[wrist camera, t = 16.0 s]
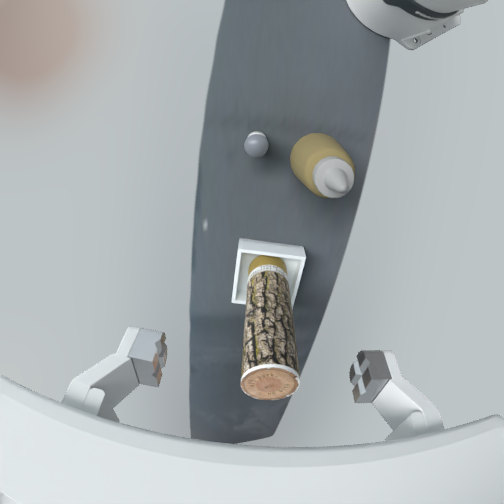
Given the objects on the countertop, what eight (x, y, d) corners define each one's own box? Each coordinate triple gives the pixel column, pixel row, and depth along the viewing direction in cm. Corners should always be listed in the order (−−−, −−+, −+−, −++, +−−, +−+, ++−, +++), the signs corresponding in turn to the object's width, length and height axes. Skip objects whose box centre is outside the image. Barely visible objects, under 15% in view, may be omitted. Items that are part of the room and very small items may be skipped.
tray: (239, 237, 51) (238, 248, 48) (303, 246, 52) (306, 257, 48) (233, 290, 57) (231, 302, 53) (290, 296, 57) (292, 309, 54)
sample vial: (261, 126, 42) (261, 130, 37) (271, 144, 43) (272, 150, 38) (242, 136, 43) (240, 141, 37) (252, 153, 44) (251, 161, 39)
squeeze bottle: (342, 173, 45) (384, 215, 29) (294, 185, 46) (313, 233, 31) (331, 125, 41) (373, 141, 26) (281, 137, 43) (294, 159, 27)
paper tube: (241, 263, 53) (228, 378, 31) (274, 245, 51) (282, 359, 29) (261, 289, 55) (260, 405, 33) (293, 273, 53) (309, 389, 32)
